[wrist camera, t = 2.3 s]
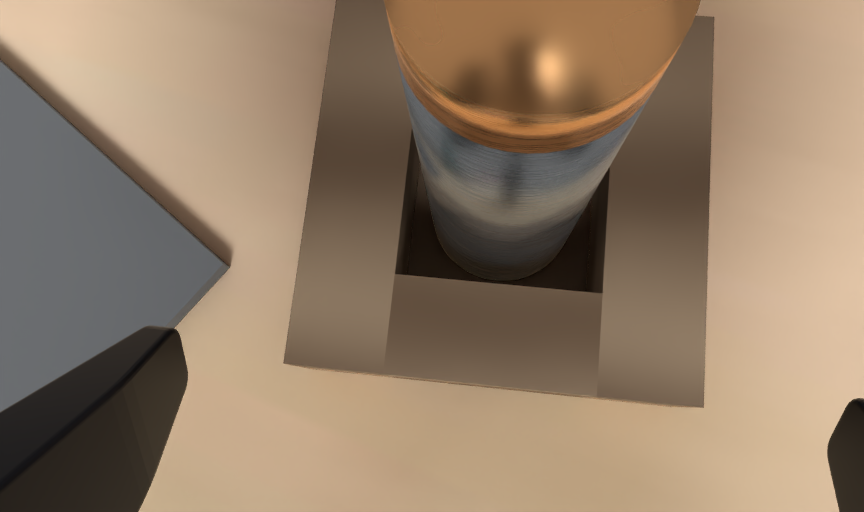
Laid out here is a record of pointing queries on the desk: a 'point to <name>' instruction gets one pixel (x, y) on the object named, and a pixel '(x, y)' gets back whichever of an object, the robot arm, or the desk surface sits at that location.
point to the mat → (79, 248)
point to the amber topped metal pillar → (524, 113)
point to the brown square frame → (500, 303)
